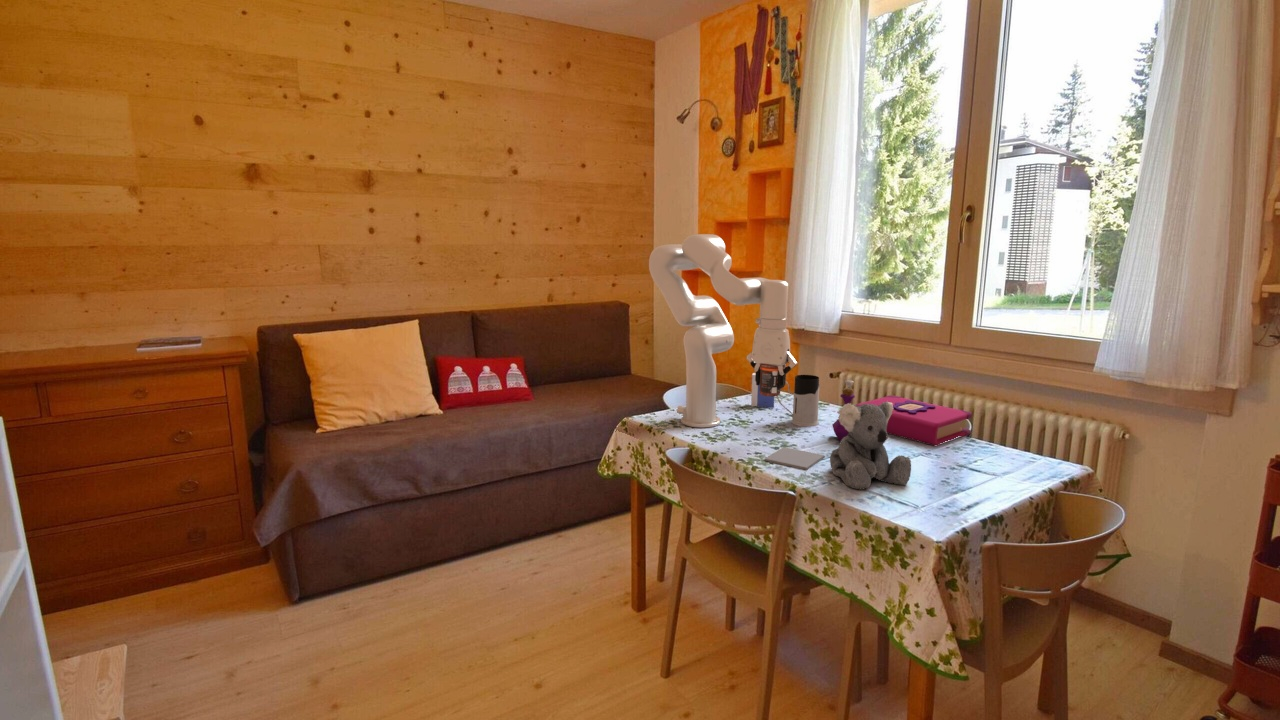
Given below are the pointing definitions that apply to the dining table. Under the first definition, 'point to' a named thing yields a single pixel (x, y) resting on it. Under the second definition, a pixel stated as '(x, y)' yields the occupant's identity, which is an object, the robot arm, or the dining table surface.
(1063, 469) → the dining table surface
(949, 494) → the dining table surface
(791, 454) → the grey mat
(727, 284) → the robot arm
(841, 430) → the perfume bottle
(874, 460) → the koala plush
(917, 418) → the book
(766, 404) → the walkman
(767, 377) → the supplement bottle
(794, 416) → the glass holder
